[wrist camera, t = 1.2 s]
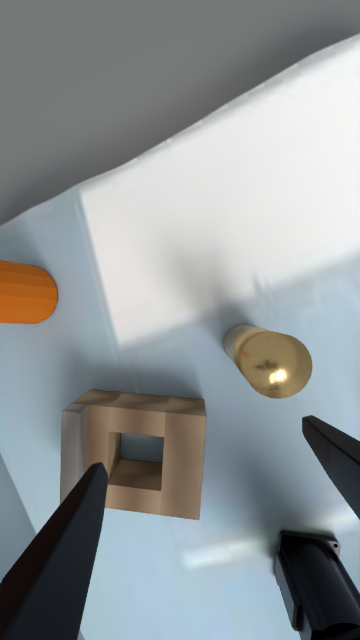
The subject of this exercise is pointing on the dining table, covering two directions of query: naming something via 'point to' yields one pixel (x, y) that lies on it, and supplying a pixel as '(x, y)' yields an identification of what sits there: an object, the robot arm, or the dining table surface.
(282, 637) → the dining table surface
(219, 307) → the dining table surface
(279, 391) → the brass cylinder rod
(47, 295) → the spray bottle
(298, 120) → the dining table surface
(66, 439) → the jig
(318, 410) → the dining table surface
